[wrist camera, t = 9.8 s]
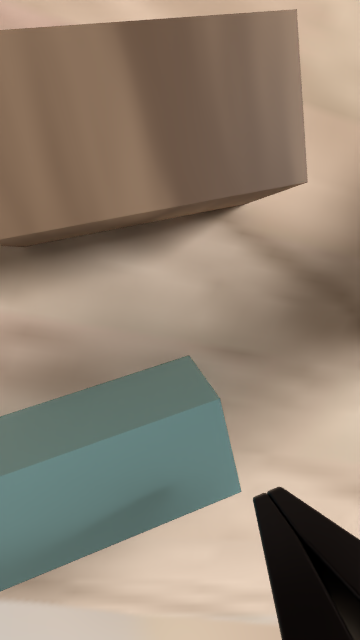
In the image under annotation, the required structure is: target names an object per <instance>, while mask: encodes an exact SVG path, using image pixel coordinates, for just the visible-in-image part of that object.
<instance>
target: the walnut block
mask: <svg viewBox="0 0 360 640" xmlns="http://www.w3.org/2000/svg"><path fill="white" fill-rule="evenodd" d="M307 182H308V181H307V165H306V149H305V133H304V117H303V101H302V86H301V70H300V54H299V38H298V22H297V9H296V10H281V11H267V12H253V13H239V14H224V15H210V16H196V17H182V18H168V19H153V20H139V21H125V22H111V23H96V24H82V25H68V26H54V27H39V28H25V29H11V30H0V246H14V247H25V246H31V245H36V244H41V243H46V242H51V241H56V240H62V239H67V238H72V237H77V236H82V235H87V234H93V233H98V232H103V231H108V230H113V229H119V228H124V227H129V226H134V225H139V224H144V223H150V222H155V221H160V220H165V219H170V218H175V217H181V216H186V215H191V214H196V213H201V212H207V211H212V210H217V209H222V208H227V207H232V206H238V205H243V204H247V203H250V202H253V201H256V200H258V199H261V198H264V197H267V196H270V195H273V194H275V193H278V192H281V191H284V190H287V189H290V188H292V187H295V186H298V185H301V184H304V183H307Z"/></svg>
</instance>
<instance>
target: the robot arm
mask: <svg viewBox="0 0 360 640" xmlns="http://www.w3.org/2000/svg"><path fill="white" fill-rule="evenodd" d="M253 502H254V507H255V512H256V517H257V522H258V527H259V531H260V536H261V541H262V546H263V551H264V555H265V560H266V565H267V570H268V575H269V580H270V584H271V589H272V594H273V599H274V604H275V608H276V613H277V618H278V623H279V628H280V632H281V637H282V640H360V540H359V539H358V538H356V537H355V536H353V535H352V534H350V533H349V532H347V531H346V530H344V529H343V528H341V527H340V526H338V525H337V524H335V523H334V522H333V521H331V520H330V519H328V518H327V517H325V516H324V515H322V514H321V513H319V512H318V511H316V510H315V509H313V508H312V507H310V506H309V505H307V504H306V503H304V502H303V501H301V500H300V499H298V498H297V497H295V496H294V495H293V494H291V493H290V492H288V491H287V490H285V489H284V488H282V487H277V488H274V489H272V490H270V491H268V492H267V494H266V493H263V494H260V495H258V496H255V497H254V498H253Z"/></svg>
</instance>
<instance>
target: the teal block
mask: <svg viewBox="0 0 360 640" xmlns="http://www.w3.org/2000/svg"><path fill="white" fill-rule="evenodd" d="M239 492H241V488H240V483H239V479H238V475H237V470H236V466H235V462H234V457H233V453H232V449H231V444H230V440H229V436H228V431H227V427H226V423H225V418H224V414H223V410H222V405H221V401H220V398H219V397H218V395H217V394H216V392H215V391H214V390H213V388H212V387H211V385H210V384H209V383H208V381H207V380H206V378H205V377H204V376H203V374H202V373H201V371H200V370H199V369H198V367H197V366H196V364H195V363H194V362H193V360H192V359H191V357H190V356H186V357H183V358H180V359H176V360H173V361H170V362H167V363H164V364H161V365H158V366H155V367H152V368H149V369H146V370H143V371H140V372H136V373H133V374H130V375H127V376H124V377H121V378H118V379H115V380H112V381H109V382H106V383H103V384H100V385H96V386H93V387H90V388H87V389H84V390H81V391H78V392H75V393H72V394H69V395H66V396H63V397H60V398H57V399H53V400H50V401H47V402H44V403H41V404H38V405H35V406H32V407H29V408H26V409H23V410H20V411H17V412H13V413H10V414H7V415H4V416H1V417H0V591H3V590H5V589H7V588H10V587H12V586H15V585H17V584H20V583H22V582H24V581H27V580H29V579H32V578H34V577H36V576H39V575H41V574H44V573H46V572H49V571H51V570H53V569H56V568H58V567H61V566H63V565H65V564H68V563H70V562H73V561H75V560H78V559H80V558H82V557H85V556H87V555H90V554H92V553H94V552H97V551H99V550H102V549H104V548H107V547H109V546H111V545H114V544H116V543H119V542H121V541H123V540H126V539H128V538H131V537H133V536H136V535H138V534H140V533H143V532H145V531H148V530H150V529H152V528H155V527H157V526H160V525H162V524H165V523H167V522H169V521H172V520H174V519H177V518H179V517H181V516H184V515H186V514H189V513H191V512H194V511H196V510H198V509H201V508H203V507H206V506H208V505H210V504H213V503H215V502H218V501H220V500H223V499H225V498H227V497H230V496H232V495H235V494H237V493H239Z"/></svg>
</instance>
